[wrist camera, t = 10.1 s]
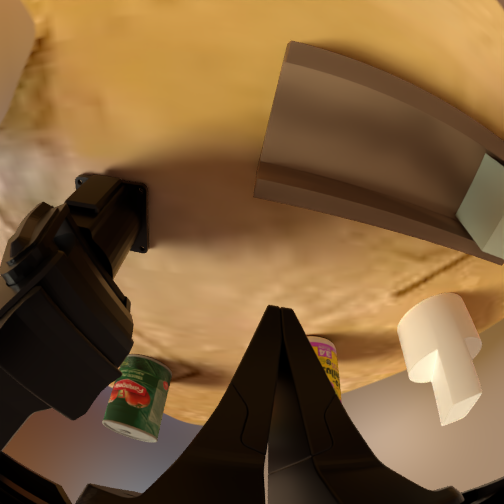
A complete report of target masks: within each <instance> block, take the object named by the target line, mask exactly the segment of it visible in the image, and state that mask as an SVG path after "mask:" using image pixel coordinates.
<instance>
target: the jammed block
mask: <svg viewBox="0 0 504 504" xmlns="http://www.w3.org/2000/svg"><path fill="white" fill-rule="evenodd" d="M455 216H456V217H457V218H458V220H459V221H460V222H461V223H462V225H463V226H464V227H465V229H466V230H467V231H468V233H469V234H470V235H471V237H472V238H473V239H474V241H475V242H476V243H477V245H478V246H479V248H480V249H481V250H482V251H483V252H486V253H489V254H491V255H494V256H497V257H499V258H502V259H504V166H503V165H502V164H500V163H499V162H497V161H496V160H495V159H493V158H492V157H490V156H489V155H487V154H486V153H485V155H484V158H483V160H482V162H481V165H480V167H479V169H478V171H477V173H476V175H475V178H474V180H473V182H472V184H471V186H470V188H469V190H468V192H467V194H466V196H465V198H464V200H463V202H462V203H461V205H460V207H459V209H458V211H457V213H456V215H455Z"/></svg>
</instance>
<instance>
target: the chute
mask: <svg viewBox="0 0 504 504" xmlns="http://www.w3.org/2000/svg"><path fill="white" fill-rule="evenodd" d="M485 153H486V154H487V155H489V156H490V157H492V158H493V159H495V160H496V161H497V162H499V163H500V164H502V165H503V166H504V141H503V140H502V139H500V138H499V137H498V136H496V135H495V134H494V133H492V132H491V131H490V130H488V129H487V128H485V127H484V126H483V125H481V124H480V123H478V122H477V121H475V120H474V119H472V118H471V117H469V116H468V115H466V114H465V113H463V112H461V111H460V110H458V109H457V108H455V107H453V106H452V105H450V104H448V103H447V102H445V101H443V100H441V99H440V98H438V97H436V96H434V95H432V94H431V93H429V92H427V91H425V90H423V89H421V88H419V87H417V86H415V85H413V84H411V83H409V82H407V81H405V80H403V79H401V78H399V77H396V76H394V75H392V74H390V73H387V72H385V71H383V70H380V69H378V68H376V67H373V66H371V65H368V64H365V63H363V62H360V61H357V60H355V59H352V58H349V57H346V56H343V55H340V54H337V53H334V52H331V51H328V50H325V49H321V48H318V47H314V46H311V45H307V44H303V43H299V42H295V41H290V42H289V43H288V44H287V48H286V52H285V56H284V60H283V64H282V68H281V72H280V76H279V81H278V85H277V89H276V93H275V97H274V101H273V105H272V109H271V114H270V118H269V122H268V126H267V130H266V135H265V139H264V143H263V147H262V152H261V156H260V160H259V165H258V169H257V173H256V181H255V188H254V196H253V197H255V198H260V199H265V200H270V201H274V202H279V203H283V204H288V205H292V206H297V207H301V208H305V209H310V210H314V211H318V212H322V213H326V214H330V215H334V216H338V217H342V218H346V219H350V220H354V221H358V222H362V223H366V224H369V225H373V226H377V227H380V228H384V229H388V230H391V231H395V232H398V233H402V234H405V235H409V236H412V237H416V238H419V239H422V240H426V241H429V242H432V243H435V244H439V245H442V246H445V247H448V248H451V249H454V250H458V251H461V252H464V253H467V254H470V255H473V256H476V257H479V258H482V259H484V260H487V261H490V262H493V263H496V264H499V265H501V266H502V265H503V263H504V259H502V258H499V257H497V256H494V255H491V254H489V253H486V252H483V251H482V250H481V249H480V248H479V246H478V245H477V243H476V242H475V241H474V239H473V238H472V237H471V235H470V234H469V233H468V231H467V230H466V229H465V227H464V226H463V225H462V223H461V222H460V221H459V220H458V218H457V217H456V216H455V215H456V213H457V211H458V209H459V207H460V205H461V203H462V202H463V200H464V198H465V196H466V194H467V192H468V190H469V188H470V186H471V184H472V182H473V180H474V178H475V175H476V173H477V171H478V169H479V167H480V165H481V162H482V160H483V158H484V155H485Z"/></svg>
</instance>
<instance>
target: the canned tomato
mask: <svg viewBox="0 0 504 504" xmlns="http://www.w3.org/2000/svg"><path fill="white" fill-rule="evenodd" d="M119 370H120V371H121V372H122V376H121V377H120V378H118V379H117V380H116V381H115V384H114V387H113V390H112V393H111V396H110V400H109V402H108V406H107V409H106V412H105V416H104V419H103V421H102V423H103V425H104V426H106V427H107V428H109V429H111V430H112V431H115V432H117V433H119V434H122V435H124V436H127V437H130V438H133V439H136V440H140V441H145V442H157V438H158V433H159V430H160V425H161V420H162V415H163V411H164V406H165V402H166V398H167V393H168V389H169V386H170V381H171V377H172V372H171V370H170V369H169V368H168V367H167V366H166V365H164V364H163V363H161V362H159V361H157V360H155V359H153V358H150V357H147V356H143V355H138V354H129V355H128V356H127V357H126V359H125V360H124V361H123V363H122V364H121V366H120V369H119Z"/></svg>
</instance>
